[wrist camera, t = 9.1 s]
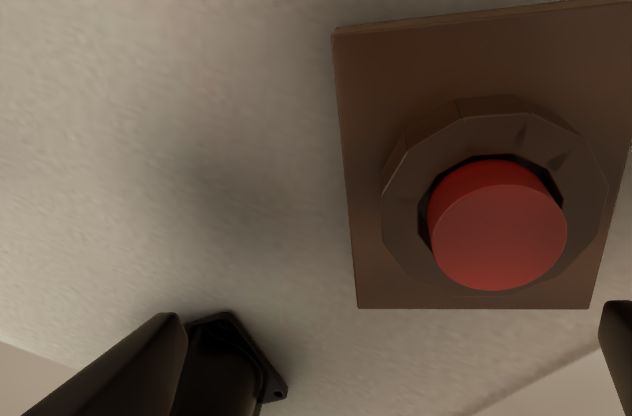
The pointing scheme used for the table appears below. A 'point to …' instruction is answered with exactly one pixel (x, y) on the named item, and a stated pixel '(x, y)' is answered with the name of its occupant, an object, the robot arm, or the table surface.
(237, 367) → the robot arm
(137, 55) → the table surface
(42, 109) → the table surface
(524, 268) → the red button
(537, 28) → the button block
